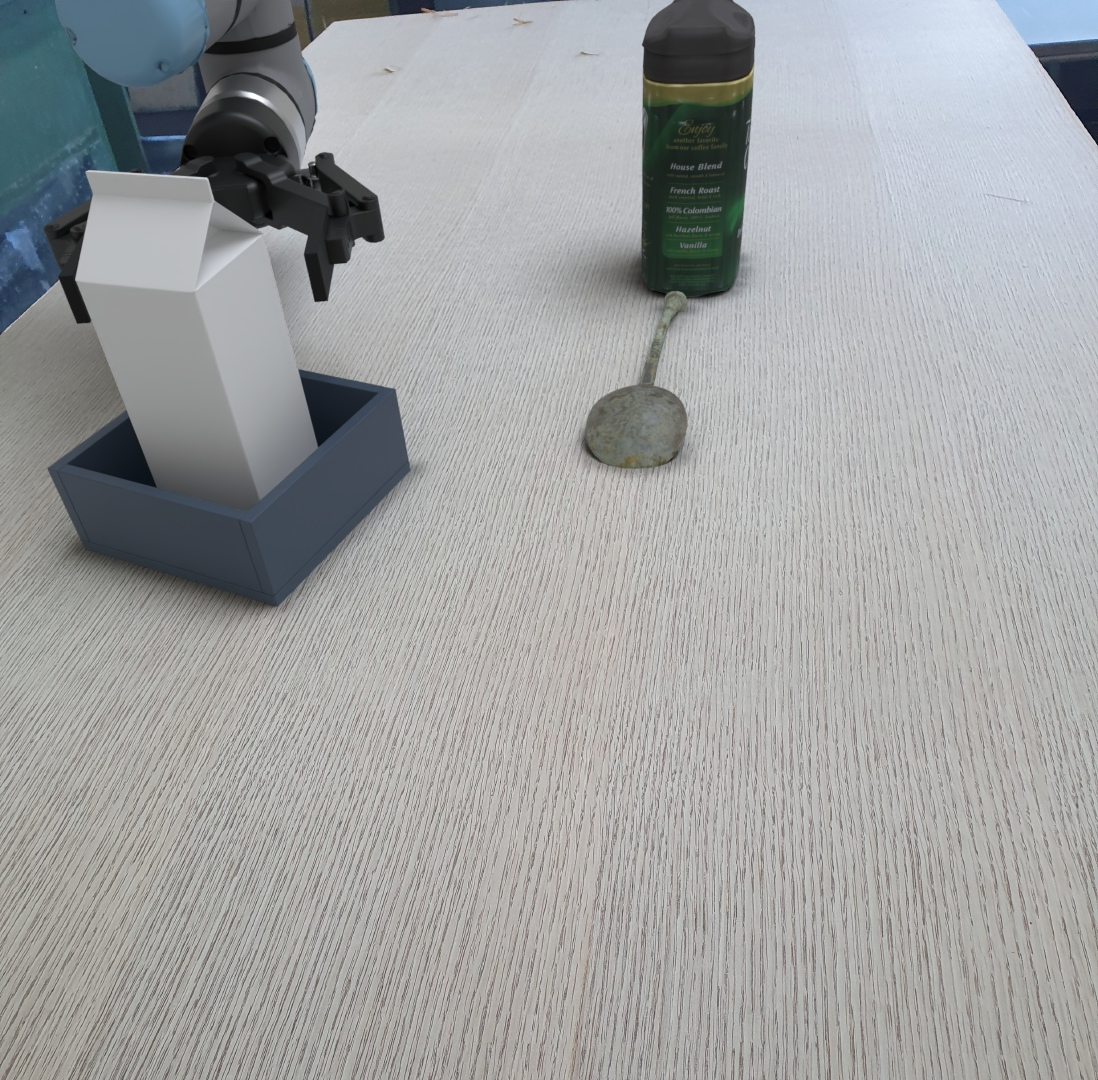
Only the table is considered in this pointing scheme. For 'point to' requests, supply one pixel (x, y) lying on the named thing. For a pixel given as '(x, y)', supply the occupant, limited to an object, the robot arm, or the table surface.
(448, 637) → the table surface
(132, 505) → the bin
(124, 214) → the milk carton
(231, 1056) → the table surface
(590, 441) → the soupspoon
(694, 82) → the coffee jar
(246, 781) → the table surface
